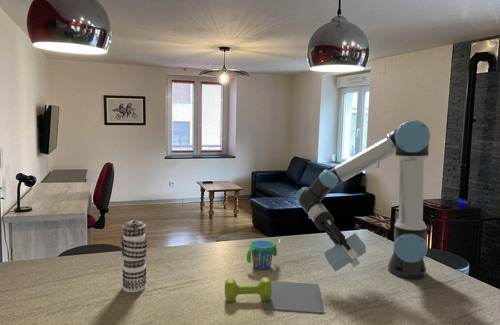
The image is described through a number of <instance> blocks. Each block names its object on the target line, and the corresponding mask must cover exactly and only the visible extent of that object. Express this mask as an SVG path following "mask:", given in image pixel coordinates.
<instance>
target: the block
mask: <svg viewBox="0 0 500 325" xmlns="http://www.w3.org/2000/svg"><path fill="white" fill-rule="evenodd" d="M345 239H346V240H347V242H348V243H349V244H350V246H351V247H352V248H353V249H354V251H355V252H356V253H357V254H358V257H356V258H355V259H358V258H359V257H361V256H362V255H365V253H367V249H366V244H365V243H364V242H363V241H362V240H361V238H360V237H359V236H358V234H357V233H356V232H355V233H353V234H351V235H350V236H348V237H347V238H346V237H345ZM342 245H343V244H342ZM342 245H340V246H339V244H337V245H335V244H334V246H332V247H331V248H329V249H327V250H326V251H324V252H323V253H324V256H325V258H326V261H327V262H328V264H329V265H330V267H331V268H332V269H333V270H334V272H335V273H336V272H338V271H339V270H341V269H342V268H344V267H345V266H347V265H349V264H351V263H350V262H352V261H353V260H355V259H353V260H352V259H351V258H350V257H349V255H348V254H347V253H346V251H345V250H344V249H343V248H342Z"/></svg>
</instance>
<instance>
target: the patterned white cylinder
mask: <svg viewBox="0 0 500 325" xmlns="http://www.w3.org/2000/svg"><path fill="white" fill-rule="evenodd" d="M146 226H147V225H146V223H144V222H143V221H142V220H139V219H131V220H128V221H126V223H124V225H122V230H123V231H122V232H123V234H122V235H121V237H120V240H121V241H120V244H121V255H122V260H123V264H122V267H123V268H122V275H121V276H122V277H123V278H122V280H121V281H122V290H123V291H125V292H127V293H136V292H141V291H143V290H145V289H146V288H147V267H146V257H147V251H148V250H147V249H146V248H147V246H148V245H147V243H148V240H146V239H145V238H147V234H146V232H145V231H146V230H145V227H146Z"/></svg>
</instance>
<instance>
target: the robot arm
mask: <svg viewBox="0 0 500 325" xmlns="http://www.w3.org/2000/svg"><path fill="white" fill-rule="evenodd" d="M430 140H431V132H430V129H429V127H428V126H427V125H426V124H425V123H424V122H423V121H421V120H418V119H408V120H405V121H403V122H402V123H400V124H399V125H398V127H396V128H395V129H394V130H392V131H391V132H390V133H388V134H387V135H386V138H384V139H382V140H380V141H377V142H376V143H374V144H372V145H371V146H369V147H367V148H365V149H364V150H362V151H360V152H358V153H357V154H355V155H353V156H351V157H350V158H348V159H346V160H344V161H343V162H341V163H339V164H338V165H336V166H334V167H333V168H331V169H327V168H326V169H324V170H323V171H322V172H321V173H320V174H319V175H318V176H317V178H316V179H315V180H314V182H312V184H311V185H310V186H309V187H307V186H304V187H301V189H298V190H297V191H296V194H295V199H296V201H297V202H298V204H299V206H300V207H301V208H302V209H303V210H304V211H305V213H306V215H307V216H308V219H310V220H312V222H313V223H314V225H315V227H317V229H318V230H319V231H325V233H326V235H327V236H329V239H330V240H331V241H332V242H333V244H334V246H335V245H337V244H339V246H340V245H342V244H343V245H342V248H343V249H344V250H345V251H346V253H347V254H348V255H349V257H350V258H351V259H352V260H353V259H355V258H356V257H358V254H357V253H356V252H355V251H354V249H353V248H352V247H351V246H350V244H349V243H348V242H347V240H346V235H344V233H343V232H342V231H341V230H340V229H339V227H338V226H336V224H335V223H334V221H335V218H334V217H333V215H332V214H331V213H330V212H329V210H328V209H327V208H326V207H325V205H324V204H323V203H322V201H323V199H324V198H326V196H327V195H328V194H329V193H330V192H331V191H332V189H334V188H335V187H336V186H338V185H340V184H342V183H343V182H346V181H347V180H349V179H351V178H353V177H354V176H356V175H358V174H360V173H362V172H364V171H366V170H367V169H370V168H371V167H373V166H375V165H377V164H379V163H380V162H382V161H384V160H386V159H388V158H390V157H392V156H395V157H396V158H397V159H399V170H398V171H399V176H398V177H399V178H398V180H399V181H398V185H399V186H398V189H399V190H398V218H396V220H395V223H394V233H393V234H394V238H393V239H394V241H393V252H392V254H391V256H390V259H389V261H388V264H387V270H388V272H389V273H391V274H393V275H395V276H397V277H400V278H404V279H409V280H411V279H412V280H413V279H414V280H420V279H424V278H425V277H426V276H427V267H426V264H425V260H424V259H425V257H426V255H427V253H428V250H429V248H428V243H427V240H428V234H427V233H428V226H427V225H426V222H425V221H424V217H423V216H424V178H425V174H424V173H425V171H424V170H425V168H424V167H425V160H426V159H427V158H428V157H429V154H430V153H429V150H430V149H429V144H430ZM358 258H359V257H358ZM358 258H356V259H355V260H353V261H352V262H350V263H349V264H351V266H352V267H353V268H356V267H357V266H358V265H360V264H361V263H360V262H359V260H358Z"/></svg>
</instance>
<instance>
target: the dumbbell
mask: <svg viewBox="0 0 500 325" xmlns="http://www.w3.org/2000/svg"><path fill="white" fill-rule="evenodd" d="M270 281H271V279H270V277H266V276H265V277H262V278H261V279H260V280H259V282H258V283H257V284H244V285H243V284H242V285H240V284H238V283H237V282H236V280H235V279H234V278H226V280H225V281H224V297H225V300H226V302H227V303H232V302H235V300H236V299H237V297H238V296H240V295H255V294H256V295H258V296H259V297H260V299H261V300H262V301H264V302H265V301H268V300H270V298H271V292H272V288H271V282H270Z"/></svg>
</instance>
